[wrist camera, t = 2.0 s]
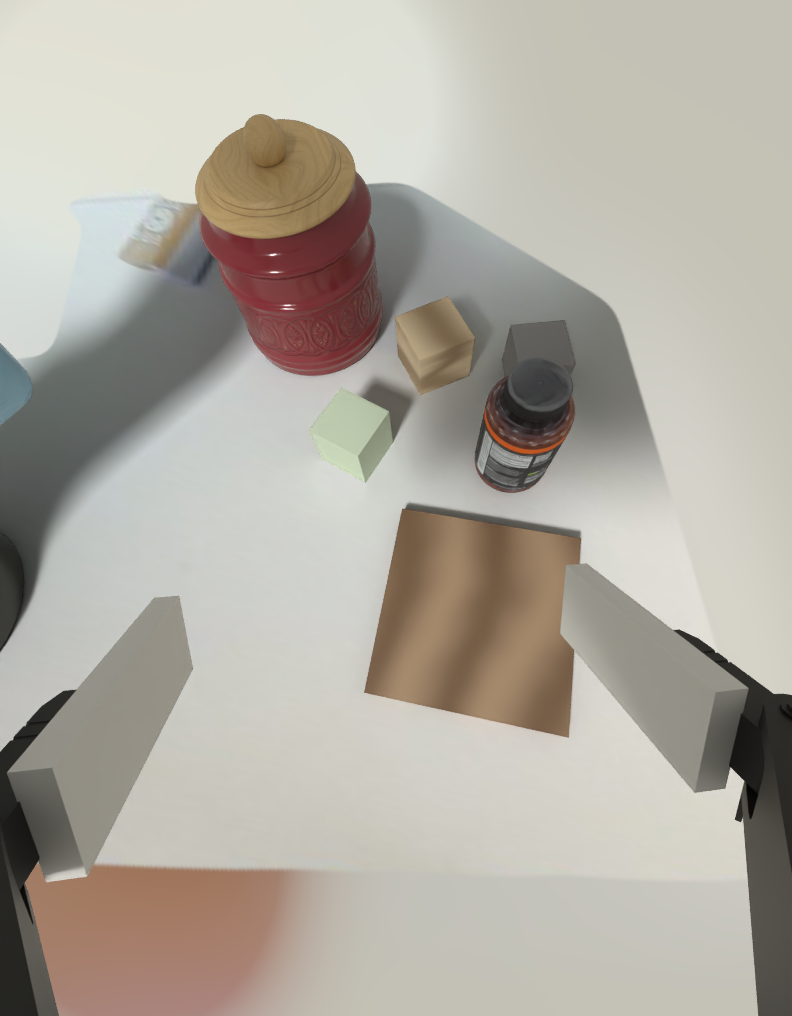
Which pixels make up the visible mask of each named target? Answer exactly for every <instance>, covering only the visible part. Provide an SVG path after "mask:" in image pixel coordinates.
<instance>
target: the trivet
mask: <svg viewBox="0 0 792 1016" xmlns="http://www.w3.org/2000/svg"><path fill="white" fill-rule="evenodd" d="M580 544H581V538H575V537H569V536H563V535H557V534H551V533H545V532H539V531H533V530H527V529H521V528H515V527H509V526H503V525H498V524H492V523H486V522H480V521H474V520H468V519H462V518H456V517H450V516H444V515H438V514H432V513H426V512H420V511H414V510H408V509H402V512H401V517H400V522H399V527H398V532H397V537H396V541H395V546H394V551H393V556H392V561H391V566H390V570H389V575H388V580H387V585H386V590H385V595H384V599H383V604H382V609H381V614H380V619H379V624H378V628H377V633H376V638H375V643H374V648H373V653H372V658H371V662H370V667H369V672H368V677H367V682H366V687H365V691H364V693H368V694H373V695H378V696H382V697H387V698H391V699H396V700H400V701H405V702H409V703H414V704H418V705H423V706H428V707H432V708H437V709H441V710H446V711H450V712H455V713H459V714H464V715H468V716H473V717H477V718H482V719H487V720H491V721H496V722H500V723H505V724H509V725H514V726H518V727H523V728H527V729H532V730H537V731H541V732H546V733H550V734H555V735H559V736H564V737H568V738H569V724H570V708H571V692H572V675H573V659H574V649H573V648H572V647H571V646H570V645H569V643H568V642H567V641H566V640H565V639H564V637H563V636H562V635H561V634H560V629H561V617H562V606H563V594H564V582H565V570H566V565H574V564H579V560H580Z"/></svg>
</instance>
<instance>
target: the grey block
mask: <svg viewBox="0 0 792 1016" xmlns="http://www.w3.org/2000/svg"><path fill="white" fill-rule="evenodd" d="M536 357H539V358H546V359H550V360H553V361H555V362H557V363H559V364H560V365H562V366H563V367H564V368H565V369H566V370H567V371H568V373H569V374H570V375H571V373H572V371H573V368H574V366H575V360H574V356H573V352H572V348H571V344H570V340H569V336H568V332H567V328H566V324H565V320H561V321H550V322H539V323H528V324H518V325H511V326H510V330H509V334H508V338H507V342H506V346H505V350H504V354H503V358H502V362H503V368H504V373H505V377H506V376H508V375H509V374H510V372H511V370H512V369H513V368H514V367H515V366H516V365H517V364H518V363H520V362H522V361H524V360H526V359H530V358H536Z"/></svg>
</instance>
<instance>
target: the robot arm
mask: <svg viewBox="0 0 792 1016" xmlns="http://www.w3.org/2000/svg"><path fill="white" fill-rule="evenodd" d="M31 393H32V383H31V379H30V377H29V375H28V373H27V372H26V370H25V369H24V368H23V367H22V366H21V364H20V363H19V362H18V361H17V360H16V359H15V358H14V357H13V356H12V355H11V354H10V353H9V352H8V351H7V350H6V349H5V348H4V346H3V345H2V344H1V343H0V426H1V425H2V424H3V423H4V422H5V421H6V420H8V419H9V418H10V417H11V416H12V415H14V414H15V413H16V412H17V411H18V410H20V409H21V408H22V407H23V406H24V405H25V404H26V403H27V402H28V400H29V399H30V397H31ZM22 595H23V570H22V565H21V561H20V558H19V555H18V553H17V551H16V549H15V548H14V546H13V545H12V543H11V542H10V541H9V540H8V539H7V537H5V536H4V535H3V534H2V533H0V648H1V647H2V645H3V644H4V642H5V641H6V639H7V637H8V635H9V633H10V631H11V629H12V627H13V625H14V623H15V620H16V618H17V615H18V612H19V609H20V605H21V601H22ZM560 634H561V635H562V636H563V637H564V639H565V640H566V641H567V642H568V643H569V645H570V646H571V647H572V648H573V649H574V651H575V652H576V653H577V654H578V655H579V656H580V658H581V659H582V660H583V661H584V662H585V664H586V665H587V666H588V667H589V668H590V669H591V671H592V672H593V673H594V674H595V675H596V677H597V678H598V679H599V680H600V681H601V682H602V684H603V685H604V686H605V687H606V688H607V690H608V691H609V692H610V693H611V694H612V696H613V697H614V698H615V699H616V700H617V701H618V703H619V704H620V705H621V706H622V707H623V709H624V710H625V711H626V712H627V713H628V714H629V716H630V717H631V718H632V719H633V720H634V722H635V723H636V724H637V725H638V726H639V727H640V729H641V730H642V731H643V732H644V733H645V735H646V736H647V737H648V738H649V739H650V741H651V742H652V743H653V744H654V745H655V746H656V748H657V749H658V750H659V751H660V752H661V754H662V755H663V756H664V757H665V758H666V759H667V761H668V762H669V763H670V764H671V765H672V767H673V768H674V769H675V770H676V771H677V772H678V774H679V775H680V776H681V777H682V778H683V780H684V781H685V782H686V783H687V784H688V786H689V787H690V788H691V789H692V790H693V791H694V793H696V792H703V791H711V790H718V789H725V787H726V783H727V779H728V774H729V770H730V767H731V768H732V769H733V770H734V771H735V772H736V773H737V774H738V775H739V776H740V777H741V778H742V779H743V780H744V785H743V789H742V793H741V797H740V801H739V805H738V809H737V813H736V817H735V820H737V821H739V822H741V821H742V818H743V823H744V836H745V848H746V861H747V874H748V887H749V900H750V913H751V926H752V939H753V952H754V965H755V978H756V991H757V1003H758V1016H792V695H787V694H773V693H772V692H770V691H769V690H768V689H766V688H765V687H763V686H762V685H761V684H759V683H758V682H757V681H756V680H754V679H753V678H751V677H750V676H749V675H747V674H746V673H745V672H743V671H742V670H741V669H739V668H738V667H737V666H735V665H734V664H732V663H731V662H730V663H729V662H728V661H727V659H726V658H724V657H723V656H722V655H720V654H719V653H715V650H714V649H712V648H711V647H709V646H708V645H707V644H705V643H704V642H703V641H701V640H700V639H698V638H696V637H694V636H692V635H690V634H688V633H685V632H683V631H681V630H672V629H671V628H670V627H668V626H667V625H666V624H664V623H663V622H662V621H661V620H659V619H658V618H657V617H655V616H654V615H653V614H651V613H650V612H649V611H648V610H646V609H645V608H644V607H642V606H641V605H640V604H638V603H637V602H636V601H635V600H633V599H632V598H631V597H629V596H628V595H627V594H625V593H624V592H623V591H622V590H620V589H619V588H618V587H616V586H615V585H614V584H612V583H611V582H610V581H609V580H607V579H606V578H605V577H603V576H602V575H601V574H599V573H598V572H597V571H596V570H594V569H593V568H592V567H590V566H589V565H588V564H574V565H566V570H565V582H564V594H563V606H562V617H561V629H560ZM192 670H193V666H192V661H191V656H190V650H189V645H188V640H187V635H186V629H185V624H184V619H183V614H182V608H181V603H180V598H179V596H172V597H160V598H154V599H153V600H152V601H151V602H150V604H149V605H148V606H147V607H146V608H145V610H144V611H143V612H142V613H141V614H140V616H139V617H138V618H137V619H136V620H135V621H134V623H133V624H132V625H131V626H130V627H129V629H128V630H127V631H126V632H125V633H124V634H123V636H122V637H121V638H120V639H119V640H118V642H117V643H116V644H115V645H114V646H113V647H112V649H111V650H110V651H109V652H108V653H107V655H106V656H105V657H104V658H103V659H102V661H101V662H100V663H99V664H98V665H97V666H96V668H95V669H94V670H93V671H92V672H91V674H90V675H89V676H88V677H87V678H86V679H85V681H84V682H83V683H82V684H81V685H80V687H79V688H78V689H77V690H68V691H63V692H61V693H60V694H58V695H57V696H56V697H54V698H53V699H51V700H50V701H48V702H47V703H46V704H44V705H43V706H41V708H40V709H39V710H38V711H37V712H36V713H35V714H34V715H33V716H32V717H31V719H30V720H29V721H28V722H27V723H26V726H23V727H22V728H21V730H20V731H19V732H18V733H17V734H16V735H15V736H14V739H13V741H10V742H9V743H8V744H7V745H6V746H5V747H4V748H3V749H2V751H1V752H0V1016H59V1014H58V1010H57V1006H56V1002H55V998H54V994H53V990H52V986H51V982H50V978H49V974H48V970H47V966H46V962H45V958H44V954H43V950H42V946H41V942H40V938H39V933H38V929H37V926H36V921H35V917H34V913H33V909H32V905H31V901H30V897H29V893H28V891H27V888H26V886H25V881H26V880H27V878H28V876H29V875H30V873H31V872H32V870H33V868H34V867H35V865H36V864H37V862H38V861H39V864H40V866H41V869H42V872H43V875H44V878H45V880H46V882H50V881H57V880H65V879H72V878H79V877H86V876H88V874H89V872H90V870H91V868H92V866H93V864H94V862H95V860H96V858H97V856H98V854H99V852H100V850H101V848H102V846H103V844H104V842H105V840H106V838H107V836H108V835H109V833H110V831H111V829H112V827H113V825H114V823H115V821H116V819H117V817H118V815H119V813H120V811H121V809H122V807H123V805H124V803H125V801H126V799H127V797H128V795H129V793H130V791H131V789H132V787H133V785H134V783H135V781H136V780H137V778H138V776H139V774H140V772H141V770H142V768H143V766H144V764H145V762H146V760H147V758H148V756H149V754H150V752H151V750H152V748H153V746H154V744H155V742H156V740H157V738H158V736H159V734H160V732H161V730H162V728H163V726H164V725H165V723H166V721H167V719H168V717H169V715H170V713H171V711H172V709H173V707H174V705H175V703H176V701H177V699H178V697H179V695H180V693H181V691H182V689H183V687H184V685H185V683H186V681H187V679H188V677H189V675H190V673H191V671H192Z"/></svg>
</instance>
